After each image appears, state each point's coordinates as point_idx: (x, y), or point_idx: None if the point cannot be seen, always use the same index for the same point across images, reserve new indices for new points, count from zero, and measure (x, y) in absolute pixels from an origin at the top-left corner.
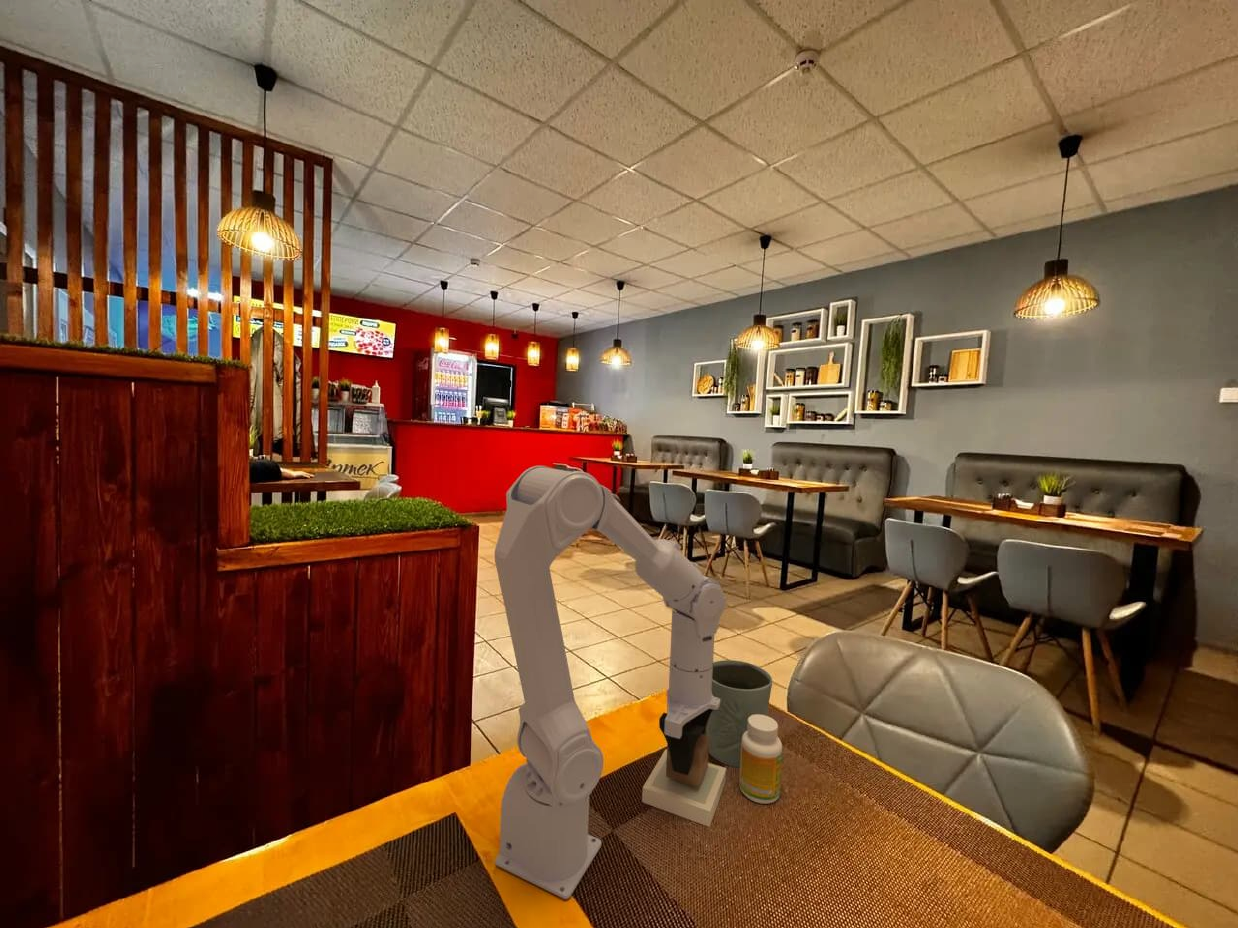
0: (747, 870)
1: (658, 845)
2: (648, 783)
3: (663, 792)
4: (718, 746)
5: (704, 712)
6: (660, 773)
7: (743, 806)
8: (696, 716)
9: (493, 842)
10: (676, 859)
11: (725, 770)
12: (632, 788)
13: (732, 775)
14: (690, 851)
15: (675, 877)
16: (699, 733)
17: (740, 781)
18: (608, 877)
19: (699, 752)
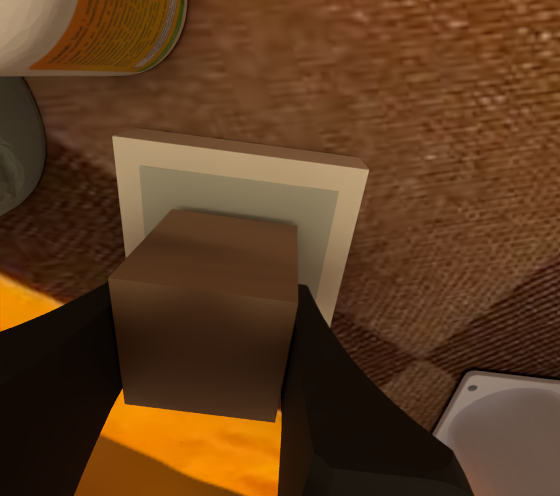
0: (517, 11)
1: (449, 271)
2: None
3: (323, 308)
4: (6, 181)
5: (14, 417)
6: None
7: (227, 49)
8: (59, 412)
9: None
10: (489, 225)
11: (127, 138)
12: None
13: (88, 106)
14: (459, 196)
15: (546, 219)
16: (458, 491)
17: (138, 69)
18: (546, 340)
19: (284, 307)
